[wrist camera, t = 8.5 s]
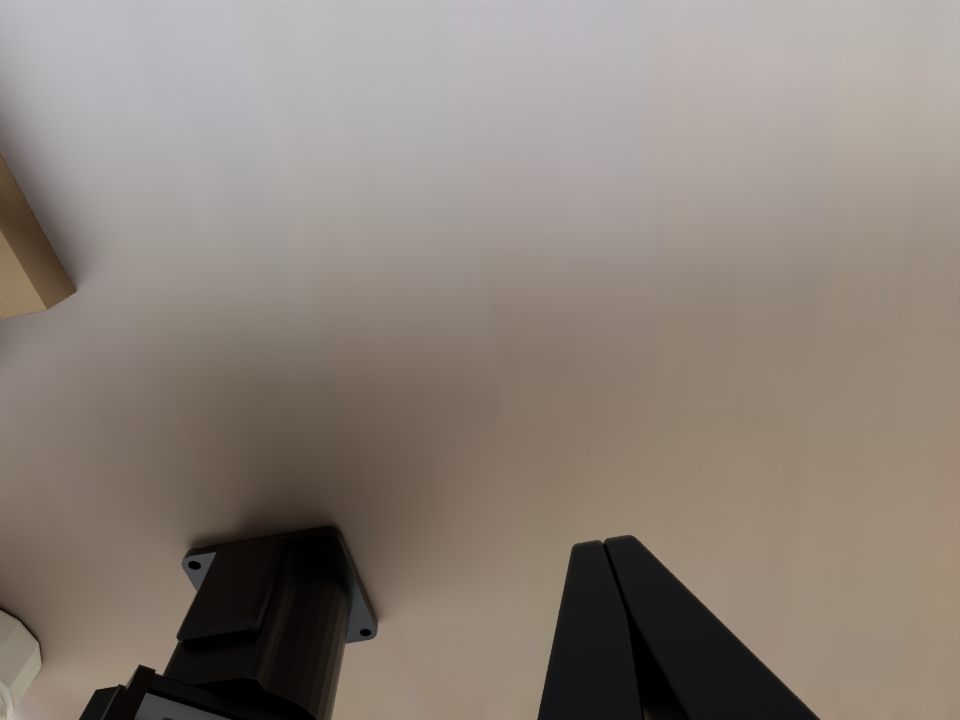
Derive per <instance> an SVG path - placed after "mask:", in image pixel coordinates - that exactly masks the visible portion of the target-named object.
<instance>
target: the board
mask: <svg viewBox="0 0 960 720" xmlns="http://www.w3.org/2000/svg"><path fill="white" fill-rule="evenodd" d="M75 292H76V290H75V288H74V286H73V284H72V283H71V281H70V279H69V277H68V275H67V274H66V272H65V270H64V268H63V266H62V265H61V263H60V261H59V259H58V257H57V255H56V254H55V252H54V250H53V248H52V246H51V245H50V243H49V241H48V239H47V237H46V236H45V234H44V232H43V230H42V228H41V226H40V225H39V223H38V221H37V219H36V217H35V216H34V214H33V212H32V210H31V208H30V207H29V205H28V203H27V201H26V199H25V197H24V196H23V194H22V192H21V190H20V188H19V187H18V185H17V183H16V181H15V179H14V178H13V176H12V174H11V172H10V170H9V168H8V167H7V165H6V163H5V161H4V159H3V158H2V156H1V154H0V319H3V318H8V317H13V316H18V315H23V314H28V313H34V312H39V311H44V310H48V309H49V308H51V307H52V306H54V305H56V304H57V303H59V302H61V301H62V300H64V299H65V298H67V297H69V296H70V295H72V294H74V293H75Z"/></svg>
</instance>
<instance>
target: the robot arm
mask: <svg viewBox="0 0 960 720" xmlns="http://www.w3.org/2000/svg"><path fill="white" fill-rule="evenodd" d="M325 538H329V539H332V540H327V539H325ZM196 561H197V562H196ZM182 567H183V569H184V570H185V572H186V574H187V575H188V577H189V579H190V580H191V582H192V584H193V585H194V587H195V589H196V590H197V593H196V595H195V597H194V600H193V602H192V604H191V606H190V608H189V610H188V612H187V614H186V616H185V618H184V620H183V622H182V624H181V627H180V629H179V631H178V633H177V637H176V638H177V639H178V641H179V642H178V644H177V646H176V648H175V650H174V652H173V654H172V656H171V658H170V661H169V663H168V665H167V667H166V669H165V671H164V673H163V675H159V674H156V673H155V671H156V670H155V669H152V668H149V667H146V666H143V665H140V664H139V666H138V667H137V669H136V670H135V672H134V674H133V675H132V677H131V678H130V680H129V682H128V683H127V685H126V686H123V685H120V684H119V685H118V686H117V687H110V688H104V689H98V690H96V691H95V692H94V694H93V696H92V697H91V699H90V701H89V703H88V704H87V706H86V708H85V710H84V711H83V713H82V715H81V717H80V718H79V720H331V718H332V712H333V707H334V702H335V696H336V691H337V686H338V680H339V675H340V669H341V664H342V659H343V653H344V648H345V644H346V643H353V642H359V641H365V640H370V639H373V638H374V637H375V636H376V634H377V628H378V623H377V621H376V618H375V616H374V613H373V611H372V608H371V606H370V603H369V601H368V598H367V596H366V593H365V591H364V589H363V586H362V584H361V581H360V579H359V576H358V574H357V571H356V569H355V566H354V564H353V561H352V559H351V556H350V554H349V552H348V549H347V547H346V544H345V542H344V539H343V537H342V534H341V532H340V531H339V530H338V529H336V528H335V527H331V526H324V527H318V528H312V529H307V530H301V531H295V532H289V533H283V534H278V535H272V536H266V537H260V538H254V539H249V540H243V541H237V542H231V543H225V544H219V545H214V546H208V547H202V548H196V549H192V550H189V551H188V552H187V553H186V555H185V557H184V559H183V561H182ZM537 720H820V719H819V718H818V717H817V716H816V715H815V714H814V713H813V712H812V711H811V710H810V709H809V708H808V707H807V706H806V705H805V704H804V703H803V702H802V701H801V700H800V699H799V698H798V697H797V696H796V695H795V694H794V693H793V692H792V691H791V690H790V689H789V688H788V687H787V686H786V685H785V684H784V683H783V682H782V681H781V680H780V679H779V678H778V677H777V676H776V675H775V674H774V673H773V672H772V671H771V670H770V669H769V668H768V667H767V666H766V665H765V664H764V663H763V662H761V661H760V660H759V659H758V658H757V657H756V656H755V655H754V654H753V653H752V652H751V651H750V650H749V649H748V648H747V647H746V646H745V645H744V644H743V643H742V642H741V641H740V640H739V639H738V638H737V637H736V636H735V635H734V634H733V633H732V632H731V631H730V630H729V629H728V628H727V627H726V626H725V625H724V624H723V623H722V622H721V621H720V620H719V619H718V618H717V617H716V616H715V615H714V614H713V613H712V612H711V611H710V610H709V609H708V608H707V607H706V606H705V605H704V604H703V603H702V602H701V601H700V600H699V599H698V598H697V597H696V596H694V595H693V594H692V593H691V592H690V591H689V590H688V589H687V588H686V587H685V586H684V585H683V584H682V583H681V582H680V581H679V580H678V579H677V578H676V577H675V576H674V575H673V574H672V573H671V572H670V571H669V570H668V569H667V568H666V567H665V566H664V565H663V564H662V563H661V562H660V561H659V560H658V559H657V558H656V557H655V556H654V555H653V554H652V553H651V552H650V551H649V550H648V549H647V548H646V547H645V546H644V545H643V544H642V543H641V542H640V541H639V540H638V539H636V538H635V537H634V536H632V535H624V536H618V537H612V538H607V539H606V540H605V541H604V543H602V542H601V541H599V540H595V541H589V542H583V543H577V544H575V545H574V546H573V547H572V550H571V555H570V560H569V565H568V570H567V575H566V580H565V585H564V590H563V595H562V600H561V605H560V610H559V615H558V620H557V625H556V630H555V635H554V640H553V645H552V650H551V655H550V659H549V664H548V669H547V674H546V679H545V684H544V689H543V694H542V699H541V704H540V709H539V714H538V719H537Z"/></svg>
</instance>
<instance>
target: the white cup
mask: <svg viewBox="0 0 960 720" xmlns="http://www.w3.org/2000/svg"><path fill="white" fill-rule="evenodd" d="M41 666H42V662H41V655H40V648H39V643H38V641H37V640H36V639H35V638H34V637H33V636H32V634H31V633H30V632H29V631H28V630H27V629H26V628H25V626H24V625H23V624H22V623H21V622H20V621H19V620H17V619H15V618H14V617H12V616H10V615H9V614H7V613H5V612H3V611H1V610H0V720H9V719H10V717H11V715H12V713H13V711H14V710H15V708H16V706H17V705H18V703H19V702H20V700H21V698H22V697H23V695H24V694H25V692H26V691H27V689H28V687H29V686H30V684H31V683H32V681H33V679H34V678H35V676H36V675H37V673H38V671H39V670H40V668H41Z"/></svg>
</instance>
